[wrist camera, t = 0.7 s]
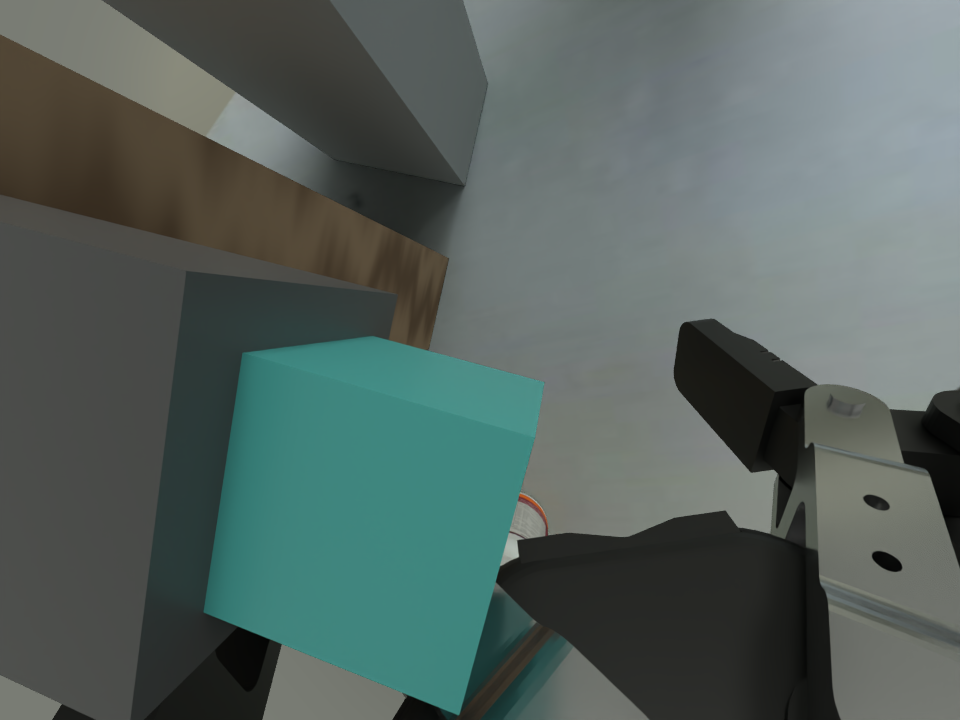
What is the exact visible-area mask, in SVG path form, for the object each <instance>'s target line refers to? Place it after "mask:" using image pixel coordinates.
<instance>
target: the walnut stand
mask: <svg viewBox="0 0 960 720" xmlns="http://www.w3.org/2000/svg"><path fill="white" fill-rule="evenodd" d="M0 195H4V196H8V197H12V198H16V199H20V200H24V201H28V202H32V203H36V204H40V205H44V206H48V207H52V208H56V209H60V210H64V211H67V212H71V213H75V214H79V215H83V216H87V217H91V218H95V219H99V220H103V221H107V222H111V223H115V224H119V225H123V226H127V227H131V228H135V229H139V230H143V231H147V232H151V233H155V234H159V235H163V236H167V237H171V238H175V239H179V240H183V241H187V242H191V243H195V244H199V245H203V246H207V247H211V248H215V249H219V250H223V251H227V252H231V253H235V254H239V255H243V256H247V257H251V258H255V259H259V260H263V261H267V262H271V263H275V264H279V265H283V266H287V267H291V268H295V269H299V270H303V271H307V272H311V273H314V274H318V275H322V276H326V277H330V278H334V279H338V280H342V281H346V282H350V283H354V284H358V285H362V286H366V287H370V288H374V289H378V290H382V291H386V292H390V293H394V294H398V297H397V302H396V307H395V312H394V317H393V321H392V326H391V331H390V336H389V340H390V341H394V342H397V343H401V344H405V345H408V346H412V347H416V348H420V349H423V350H427V349H429V346H430V341H431V337H432V332H433V328H434V323H435V319H436V314H437V310H438V305H439V301H440V296H441V292H442V287H443V283H444V278H445V274H446V269H447V265H448V260H449V258H447V257H445V256H443V255H441V254H439V253H437V252H435V251H433V250H431V249H429V248H427V247H425V246H423V245H421V244H419V243H417V242H415V241H413V240H411V239H409V238H407V237H405V236H403V235H401V234H399V233H397V232H395V231H393V230H391V229H389V228H387V227H385V226H383V225H381V224H379V223H377V222H375V221H373V220H371V219H369V218H367V217H365V216H363V215H361V214H359V213H357V212H355V211H353V210H351V209H349V208H347V207H345V206H343V205H341V204H339V203H337V202H335V201H333V200H331V199H329V198H327V197H325V196H323V195H321V194H319V193H317V192H315V191H313V190H311V189H309V188H307V187H305V186H303V185H301V184H299V183H297V182H295V181H293V180H291V179H289V178H287V177H285V176H283V175H281V174H279V173H277V172H275V171H273V170H271V169H269V168H267V167H265V166H263V165H261V164H259V163H257V162H255V161H253V160H251V159H249V158H247V157H245V156H243V155H241V154H239V153H237V152H235V151H233V150H231V149H229V148H227V147H225V146H223V145H221V144H219V143H217V142H215V141H213V140H211V139H209V138H207V137H205V136H203V135H200V134H198V133H197V132H195V131H192V130H190V129H188V128H186V127H184V126H182V125H180V124H178V123H176V122H174V121H172V120H170V119H168V118H166V117H164V116H162V115H160V114H158V113H156V112H154V111H152V110H150V109H148V108H146V107H144V106H142V105H140V104H138V103H136V102H134V101H132V100H130V99H128V98H126V97H124V96H122V95H120V94H118V93H116V92H114V91H112V90H110V89H108V88H106V87H104V86H102V85H100V84H98V83H96V82H94V81H92V80H90V79H88V78H86V77H84V76H82V75H80V74H78V73H76V72H74V71H72V70H70V69H68V68H66V67H64V66H62V65H60V64H58V63H56V62H54V61H52V60H50V59H48V58H46V57H44V56H42V55H40V54H38V53H36V52H34V51H32V50H30V49H28V48H26V47H24V46H22V45H20V44H18V43H16V42H14V41H12V40H10V39H8V38H6V37H4V36H2V35H0Z"/></svg>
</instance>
